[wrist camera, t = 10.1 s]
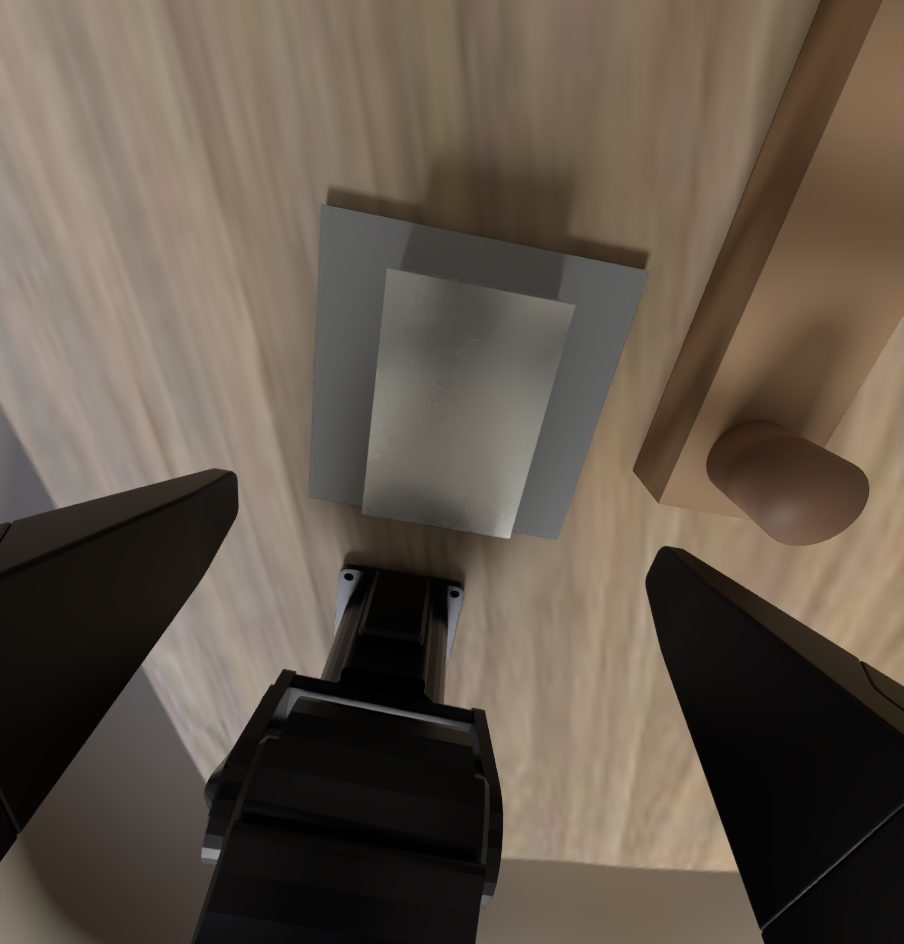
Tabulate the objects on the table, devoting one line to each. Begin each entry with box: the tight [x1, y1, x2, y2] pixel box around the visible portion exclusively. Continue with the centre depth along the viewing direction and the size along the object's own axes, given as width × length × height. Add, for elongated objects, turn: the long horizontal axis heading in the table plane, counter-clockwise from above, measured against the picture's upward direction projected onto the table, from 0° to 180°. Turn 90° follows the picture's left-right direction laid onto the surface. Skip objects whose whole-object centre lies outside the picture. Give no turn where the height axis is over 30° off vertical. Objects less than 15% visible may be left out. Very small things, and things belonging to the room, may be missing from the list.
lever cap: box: [362, 267, 575, 539], centre depth 17 cm, size 9×6×3 cm, turn 170°
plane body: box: [633, 0, 904, 546], centre depth 12 cm, size 20×5×8 cm, turn 170°
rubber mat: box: [309, 204, 649, 540], centre depth 19 cm, size 12×12×1 cm
